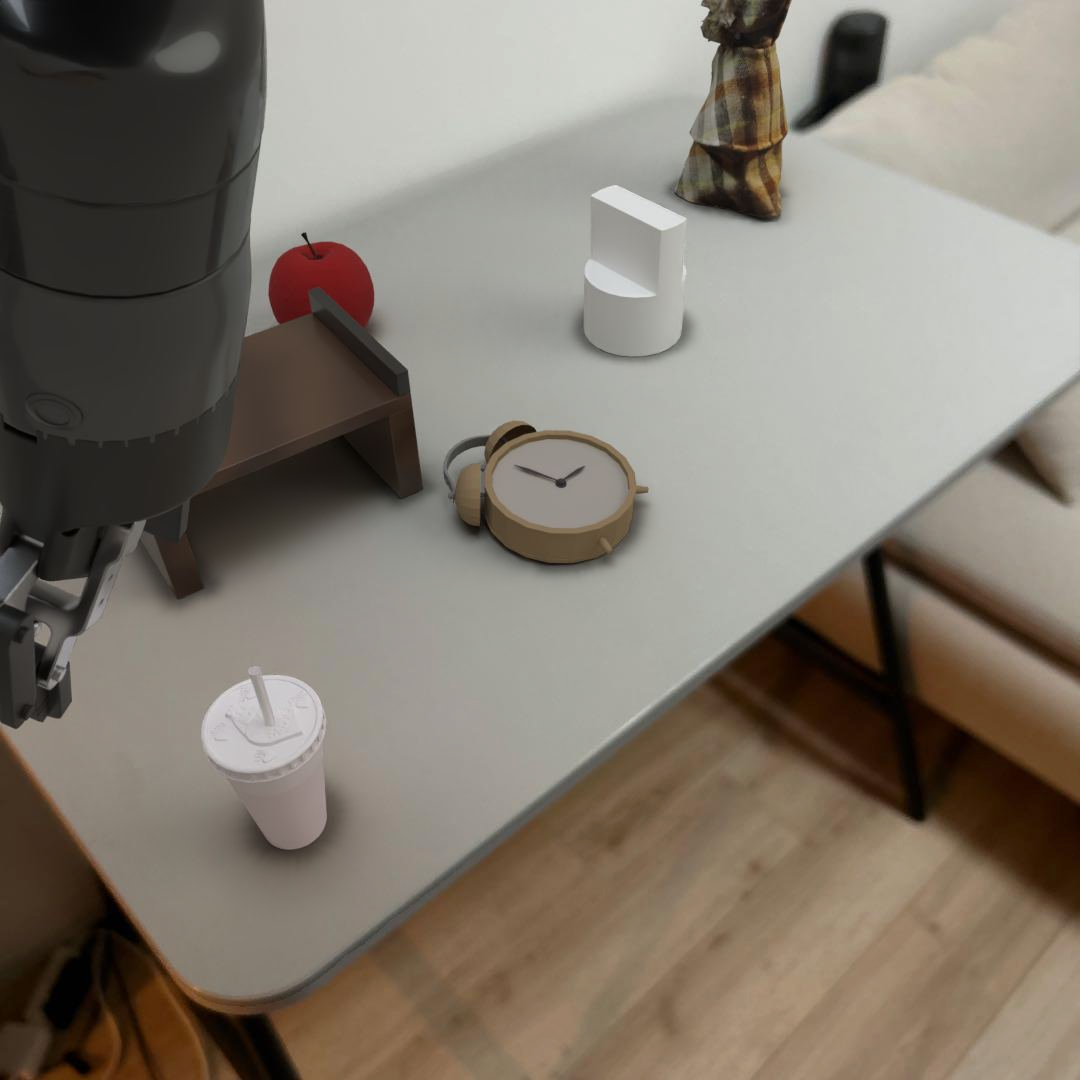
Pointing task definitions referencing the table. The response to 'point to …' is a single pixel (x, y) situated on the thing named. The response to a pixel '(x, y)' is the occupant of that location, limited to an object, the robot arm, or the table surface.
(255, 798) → the smoothie
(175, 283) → the robot arm
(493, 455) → the alarm clock
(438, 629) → the table surface
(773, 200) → the plaid figurine
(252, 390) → the shelf
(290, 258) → the apple
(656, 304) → the cylinder with rectangular tab
